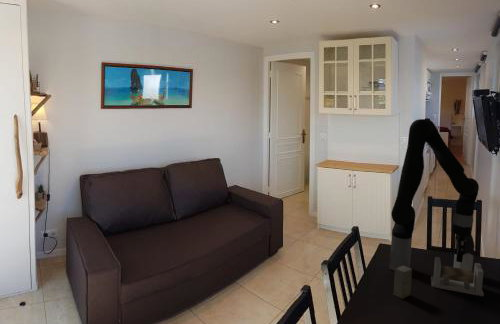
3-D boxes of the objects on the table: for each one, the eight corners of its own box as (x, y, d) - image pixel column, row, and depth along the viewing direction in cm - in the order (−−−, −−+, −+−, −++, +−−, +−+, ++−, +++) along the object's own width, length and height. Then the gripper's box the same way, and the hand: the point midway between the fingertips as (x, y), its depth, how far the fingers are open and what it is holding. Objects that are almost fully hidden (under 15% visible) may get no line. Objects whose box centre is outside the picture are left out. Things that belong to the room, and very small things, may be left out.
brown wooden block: (442, 278, 161) (442, 269, 161) (441, 273, 166) (442, 265, 165) (473, 283, 156) (474, 275, 156) (471, 278, 161) (472, 270, 160)
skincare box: (402, 299, 151) (404, 272, 149) (392, 294, 155) (394, 268, 153) (410, 295, 154) (412, 268, 153) (401, 290, 158) (403, 264, 156)
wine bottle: (466, 270, 178) (472, 212, 173) (475, 278, 170) (481, 217, 165) (449, 269, 179) (455, 211, 174) (457, 277, 171) (463, 216, 166)
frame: (431, 286, 162) (433, 263, 160) (430, 278, 170) (432, 256, 168) (483, 296, 153) (486, 272, 152) (480, 287, 162) (482, 264, 160)
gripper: (451, 217, 165) (447, 250, 167) (454, 226, 152) (449, 262, 155) (470, 220, 162) (465, 253, 164) (474, 229, 149) (469, 266, 152)
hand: (458, 257), depth 160 cm, fingers open, 8 cm apart
